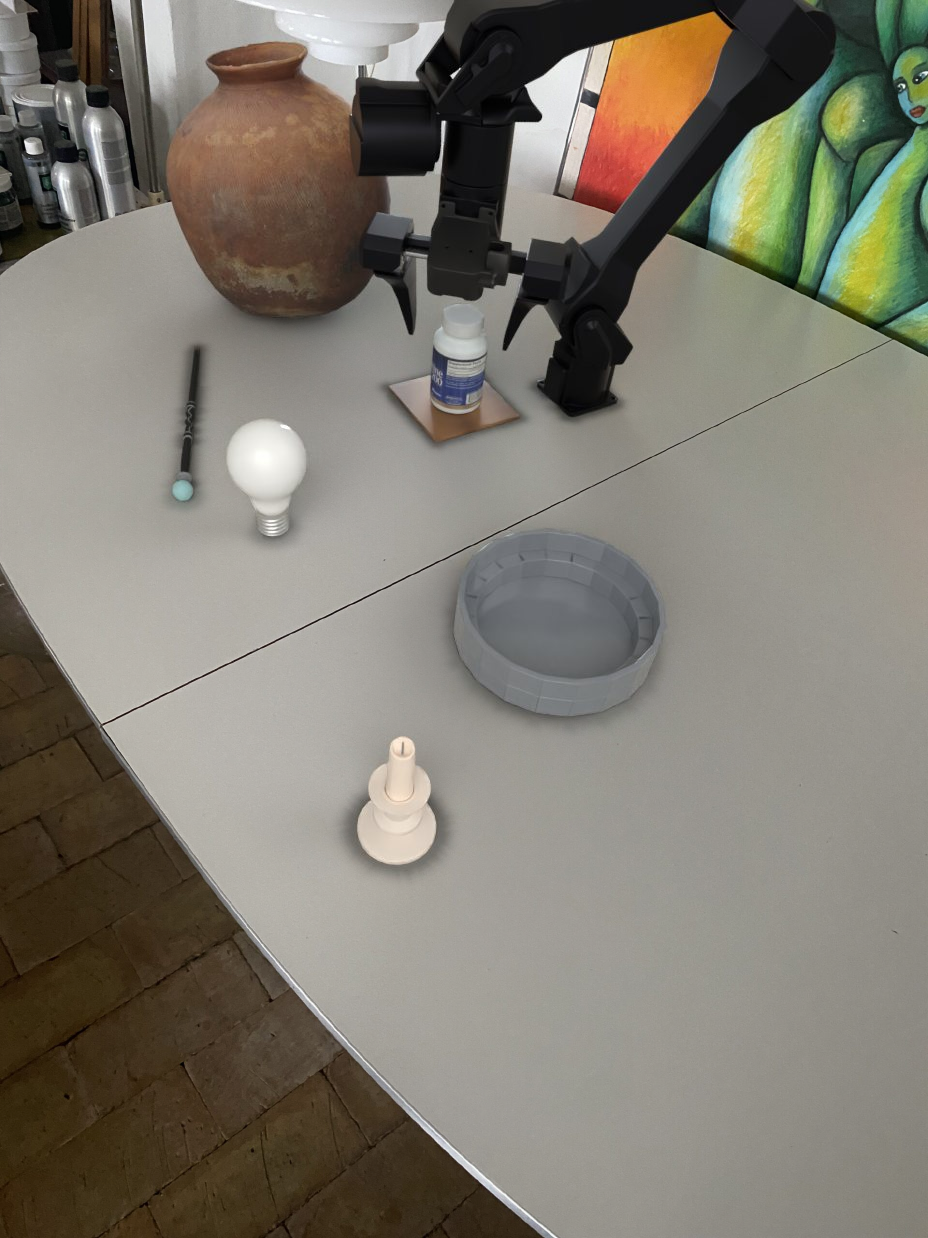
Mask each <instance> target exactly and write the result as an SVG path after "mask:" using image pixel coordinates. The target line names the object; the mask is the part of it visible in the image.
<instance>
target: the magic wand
mask: <svg viewBox="0 0 928 1238" xmlns="http://www.w3.org/2000/svg"><path fill="white" fill-rule="evenodd" d="M199 359H200V347H199V346H198V345H196V346H195V347H194V350H193V358H192V365H191V366H192V367H191V373H190V382H189V383H190V384H189V391H188V399H187V403H186V407H185V408H186V410H185V416H186V419H185V420H184V424H185V427H184V433H183V437H182V439H183V440H182V441H183V445H182V451H181V456H180V457H181V458H180V471H179V472H177V473H176V474H175V481H176V482H174V484H173V485H172V489H171V491H172V495H173V497H174V498H175V499H176V500H177V501H181V502H186V501H189V500H190V499H191V498H192V497H193V494H194V488H193V487H194V486H193V485H192V484H191V483H192V481H193V476H192V475H191V474H190V467H191V458H192V457H191V456H192V443H193V440H194V433H193V430H194V420H195V413H196V407H197V406H196V405H197V404H196V396H197V382H198V374H199V373H198V372H199Z"/></svg>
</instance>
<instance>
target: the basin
mask: <svg viewBox="0 0 928 1238" xmlns="http://www.w3.org/2000/svg"><path fill="white" fill-rule="evenodd" d="M665 607H666V606H665V601H664V598H663V596H662V594H661V592H660V590H659V589H658V586H657V584H656V583H655V580H654V578H653V577H652V576H651V575H650V574H649V573H648V572H647V571H646V570H645V569H644V567H642V566H641V565H640V564H639V563H638V562H637V560H635V559H634V558H633V557H632V556H630V555H628V553H625V552H624V551H622V550H621V549H619V548H618V547H616V546H615V545H613V544H611V543H609V542H607V541H604V540H602V539H598V538H596V537H593V536H590V535H587V534H585V533H582V532H578V531H573V530H563V529H555V528H539V529H538V528H537V529H527V530H519V531H515V532H513V533H510V534H507V535H504V536H501V537H498V538H496V539H493V540H491V541H489V543H488V544H486V545H485V546H483V547H482V548H481V549H479V550H478V551H477V552H475V553H474V554H473V555H472V556H471V558H470V559H469V561H468V563H467V564H466V566H465V568H464V569H463V571H462V572H461V574H460V576H459V582H458V591H457V600H456V607H455V615H454V623H453V631H452V632H453V633H452V635H453V638H454V641H455V644H456V648H457V652H458V655H459V658H460V659H461V661H462V662H463V663H464V665H465V667H466V668H467V669H468V670H469V672H470V673H471V674H472V676H473V678H474V679H475V680H476V682H478V683H479V684H481V686H484V687H485V688H486V689H487V690H489V691H490V692H492V693H493V694H494V695H496V696H497V697H498V698H500V699H501V700H502V701H504V702H506V703H509V704H512V705H514V706H518V707H519V708H522V709H525V710H527V711H530V712H532V713H535V714H543V715H550V716H558V717H566V718H567V717H570V718H571V717H575V716H576V717H577V716H584V715H591V714H597V713H601V712H604V711H606V710H608V709H611V708H612V707H615V706H617V705H619V704H621V703H623V702H626V701H627V700H629V698H631V697H632V695H633V694H635V692H636V691H637V690H638V689H640V687H641V686H642V685H643V684H644V683H645V682H646V680H647V678H648V674H649V673H650V670H651V668H652V665H653V663H654V660H655V658H656V655H657V653H658V651H659V648H660V645H661V642H662V639H663V636H664V634H665V631H666V628H667V619H666V618H667V617H666V608H665Z"/></svg>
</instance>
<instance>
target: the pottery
mask: <svg viewBox="0 0 928 1238" xmlns="http://www.w3.org/2000/svg"><path fill="white" fill-rule="evenodd" d="M308 52H309V51H308V48H307V46H306V45H304V44H302V43H299V42H296V41H292V42H289V41H279V40H274V41H265V42H258V43H249V44H246V45H241V46H234V47H231V48H227V49H223V50H219V51H216V52H214V53H212V54H210V55H209V56H208V57H207V58H206V60H205V61H204V62H205V65H206V66H207V68H208V69H209V70H210V71H211V72H212V73H213V74H214V75H215V76H216V78H217V79H218V84H217V85H216V87H215V89H213V91H211V92H210V93H209V94H208V95H206V97H204V98H203V99H202V100H201V101H200V102H198V104H197V105H196V106H195V107H192V109H191V110H190V112H189V113H188V114H187V116H185V118H184V119H183V121H182V122H181V123H180V125H179V127H178V128H177V130H176V132H175V134H174V136H173V138H172V140H171V142H170V145H169V148H168V153H167V157H166V163H165V168H166V169H165V176H166V186H167V190H168V194H169V198H170V201H171V205H172V209H173V211H174V215H175V217H176V219H177V222H178V225H179V227H180V229H181V232H182V234H183V236H184V239H185V241H186V243H187V245H188V247H189V249H190V251H191V253H192V256H193V258H194V260H195V262H196V263H197V265H198V266H199V269H200V270H201V271H202V272H203V274H204V276H205V278H206V279H207V280H208V281H209V283H210V284H211V286H212V287H213V288H214V289H215V290H216V291H217V292H218V293H219V294H220V295H221V296H222V297H224V298H225V299H226V300H227V301H228V302H230V304H232V305H233V306H235V307H236V308H238V309H239V310H240V311H243V312H245V313H248V314H250V315H255V316H260V317H261V316H262V317H271V318H287V319H288V318H291V319H296V318H297V319H299V318H311V317H317V316H322V315H326V314H330V313H332V312H335V311H337V310H340V309H341V308H342V307H344V306H346V305H348V304H349V303H351V302H353V300H355V299H356V298H357V297H358V296H359V295H360V294H361V293H362V292H363V291H364V290H365V288H366V287H367V286H368V284H369V283H370V281H371V279H372V278H373V276H374V273H373V270H372V269H366V268H363V267H361V266H360V265H359V242H360V237H361V235H362V233H363V231H364V230H365V228H366V226H367V224H368V222H369V220H370V219H371V218H372V217H373V216H374V215H375V214H376V213H383V214H389V215H391V202H392V201H391V191H390V190H391V189H390V184H389V178H388V177H356V175H355V173H354V170H353V165H352V159H351V151H350V137H349V114H352V103H350V102H348V101H347V100H346V99H345V98H344V97H343V96H342V95H341V94H339V93H338V92H337V91H335V90H333V89H332V88H330V87H328V86H327V85H325V84H323V83H321V82H318V80H315V79H313V78H312V77H309V75H307V74H305V73H304V70H303V69H302V68H303V65H304V62H305V61H306V59H307V57H308V54H309V53H308Z"/></svg>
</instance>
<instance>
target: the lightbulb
mask: <svg viewBox="0 0 928 1238" xmlns="http://www.w3.org/2000/svg"><path fill="white" fill-rule="evenodd" d="M229 438H230V439H229V440H228V442H227V446H226V450H225V465H226V470H227V472H228V474H229V476H230V478H231V480H232V482H233V483H234V484H235V485H236V487H237V488H238V489H239V490H240V491H242V492H243V493H244V494H245V495H247V496H248V498H249V500H250V504H251V505H252V506H253V507H252V508H254V509H255V517H256V523H257V524H256V525H257V530H258V532H260V533H261V534H262V535H265V536H266V537H279V536H282V535H283V534H285V533H287V531H288V530H289V529H290V516H289V505H290V504H291V500H292V496H293V492H295V490H296V489H297V488H298V487H299V486H300V484H301V483H302V481H303V479H304V477H305V475H306V472H307V467H308V453H307V449H306V446H305V444H304V441H303V440H302V438H301V437H300V435H299V434H298V432H296V430H295V429H294V428H293V427H291V426H289V425H288V424H286V423H285V422H284V421H280V420H277V419H273V418H266V417H265V418H263V417H261V418H256V419H252V420H250V421H247V422H245V423H243V424H242V425H241V426H239V427H238V428H237V429H236V430H235V431H234V432H233V433H232V435H231V436H230V437H229Z"/></svg>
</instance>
